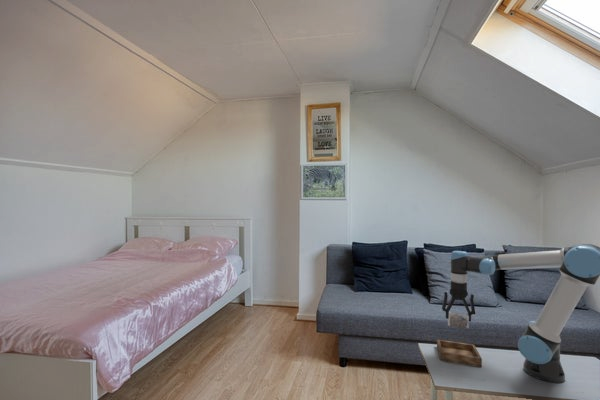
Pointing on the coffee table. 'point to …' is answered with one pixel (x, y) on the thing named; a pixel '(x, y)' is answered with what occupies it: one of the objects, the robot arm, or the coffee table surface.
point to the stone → (457, 320)
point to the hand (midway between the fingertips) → (458, 326)
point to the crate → (459, 353)
